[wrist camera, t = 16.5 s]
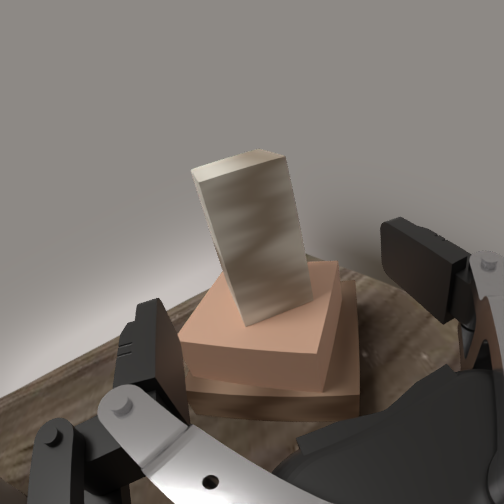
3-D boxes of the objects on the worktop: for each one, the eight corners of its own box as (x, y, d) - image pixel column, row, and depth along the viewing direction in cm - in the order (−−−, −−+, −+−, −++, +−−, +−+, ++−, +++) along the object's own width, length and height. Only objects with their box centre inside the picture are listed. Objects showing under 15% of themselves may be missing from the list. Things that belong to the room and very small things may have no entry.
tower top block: (193, 376, 23) (173, 340, 21) (238, 298, 31) (227, 264, 29) (322, 392, 19) (316, 353, 17) (342, 299, 27) (337, 260, 25)
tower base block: (198, 417, 24) (179, 389, 22) (236, 318, 35) (226, 289, 33) (358, 423, 20) (359, 394, 18) (357, 312, 31) (355, 280, 29)
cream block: (245, 326, 21) (198, 182, 16) (229, 290, 25) (190, 169, 21) (313, 300, 22) (285, 156, 17) (287, 269, 26) (259, 148, 22)
